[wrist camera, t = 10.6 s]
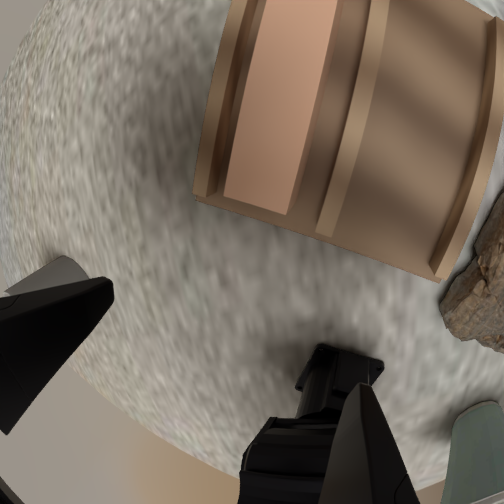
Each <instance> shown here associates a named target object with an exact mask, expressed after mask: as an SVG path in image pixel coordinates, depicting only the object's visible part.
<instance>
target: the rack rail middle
mask: <svg viewBox="0 0 504 504" xmlns="http://www.w3.org/2000/svg"><path fill="white" fill-rule="evenodd" d="M389 1H390V0H371V7H370V13H369V19H368V24H367V30H366V35H365V41H364V46H363V51H362V56H361V61H360V66H359V70H358V75H357V79H356V84H355V88H354V93H353V97H352V101H351V105H350V110H349V114H348V118H347V122H346V126H345V130H344V133H343V137H342V141H341V145H340V149H339V152H338V156H337V160H336V163H335V167H334V170H333V174H332V177H331V181H330V184H329V188H328V191H327V195H326V198H325V201H324V205H323V208H322V211H321V214H320V218H319V221H318V224H317V227H316V230H315V232H316V233H319V234H322V235H325V236H328V237H332V234H333V231H334V229H335V226H336V223H337V220H338V217H339V214H340V210H341V207H342V204H343V201H344V198H345V195H346V192H347V188H348V185H349V182H350V178H351V175H352V172H353V168H354V165H355V161H356V158H357V154H358V151H359V147H360V143H361V140H362V136H363V132H364V128H365V124H366V120H367V116H368V112H369V108H370V104H371V100H372V95H373V91H374V87H375V82H376V77H377V72H378V68H379V63H380V57H381V52H382V47H383V41H384V35H385V29H386V23H387V16H388V9H389Z"/></svg>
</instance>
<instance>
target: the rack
mask: <svg viewBox="0 0 504 504" xmlns="http://www.w3.org/2000/svg"><path fill="white" fill-rule="evenodd" d="M266 1H267V0H258V3H257V7H256V11H255V14H254V18H253V22H252V26H251V30H250V34H249V38H248V42H247V46H246V50H245V54H244V58H243V63H242V67H241V71H240V76H239V80H238V85H237V89H236V94H235V98H234V103H233V108H232V113H231V118H230V123H229V128H228V133H227V138H226V143H225V148H224V154H223V159H222V164H221V170H220V176H219V181H218V187H217V192H216V193H214V194H212V195H210V196H208V197H206V198H205V197H201V196H198V195H196V201H199V202H202V203H206V204H209V205H212V206H216V207H219V208H222V209H225V210H229V211H232V212H235V213H238V214H242V215H245V216H248V217H251V218H254V219H257V220H261V221H264V222H267V223H270V224H273V225H276V226H279V227H282V228H285V229H288V230H291V231H294V232H297V233H300V234H303V235H306V236H309V237H312V238H315V239H318V240H321V241H324V242H327V243H330V244H333V245H335V246H338V247H341V248H344V249H347V250H350V251H353V252H355V253H358V254H361V255H364V256H367V257H369V258H372V259H375V260H378V261H380V262H383V263H386V264H389V265H391V266H394V267H397V268H399V269H402V270H405V271H407V272H410V273H413V274H415V275H418V276H420V277H423V278H426V279H428V280H431V281H433V282H436V283H440V281H441V278H439V277H436V276H434V274H433V272H432V270H431V268H430V266H429V263H430V260H431V258H432V256H433V254H434V252H435V250H436V247H437V245H438V243H439V241H440V238H441V236H442V234H443V231H444V229H445V226H446V224H447V222H448V219H449V216H450V214H451V211H452V209H453V206H454V203H455V200H456V197H457V195H458V192H459V189H460V186H461V183H462V180H463V176H464V173H465V170H466V166H467V163H468V159H469V156H470V152H471V148H472V144H473V140H474V136H475V131H476V127H477V122H478V117H479V111H480V106H481V99H482V93H483V85H484V76H485V66H486V51H487V23H488V22H489V21H490V20H492V19H493V18H494V17H492V16H491V15H489V14H487V13H486V12H484V11H482V10H481V9H479V8H477V7H476V6H474V5H472V4H470V3H468V2H467V1H465V0H390V1H389V9H388V16H387V23H386V29H385V35H384V41H383V47H382V52H381V57H380V63H379V68H378V72H377V77H376V82H375V87H374V91H373V95H372V100H371V104H370V108H369V112H368V116H367V120H366V124H365V128H364V132H363V136H362V140H361V143H360V147H359V151H358V154H357V158H356V161H355V165H354V168H353V172H352V175H351V178H350V182H349V185H348V188H347V192H346V195H345V198H344V201H343V204H342V207H341V210H340V214H339V217H338V220H337V223H336V226H335V229H334V231H333V234H332V237H328V236H325V235H322V234H319V233H316V232H315V230H316V227H317V224H318V221H319V218H320V214H321V211H322V208H323V205H324V201H325V198H326V195H327V191H328V188H329V184H330V181H331V177H332V174H333V170H334V167H335V163H336V160H337V156H338V152H339V149H340V145H341V141H342V137H343V133H344V130H345V126H346V122H347V118H348V114H349V110H350V105H351V101H352V97H353V93H354V88H355V84H356V79H357V75H358V70H359V66H360V61H361V56H362V51H363V46H364V41H365V35H366V30H367V24H368V19H369V13H370V7H371V0H344V4H343V9H342V14H341V19H340V24H339V29H338V33H337V38H336V43H335V47H334V52H333V56H332V61H331V65H330V70H329V74H328V78H327V83H326V87H325V91H324V95H323V99H322V104H321V108H320V112H319V116H318V120H317V124H316V128H315V132H314V136H313V140H312V144H311V148H310V152H309V156H308V159H307V163H306V167H305V171H304V175H303V178H302V182H301V186H300V190H299V193H298V197H297V201H296V203H295V204H294V206H293V207H292V208H291V209H290V211H289V212H288V213H287V215H284V214H281V213H277V212H274V211H271V210H268V209H265V208H262V207H258V206H255V205H252V204H249V203H245V202H242V201H239V200H235V199H232V198H229V197H225V196H223V195H224V190H225V184H226V179H227V173H228V168H229V163H230V158H231V153H232V148H233V142H234V138H235V133H236V128H237V123H238V118H239V113H240V109H241V104H242V100H243V95H244V91H245V86H246V82H247V77H248V73H249V69H250V64H251V60H252V56H253V52H254V48H255V44H256V40H257V36H258V32H259V28H260V24H261V20H262V16H263V12H264V9H265V5H266Z"/></svg>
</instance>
